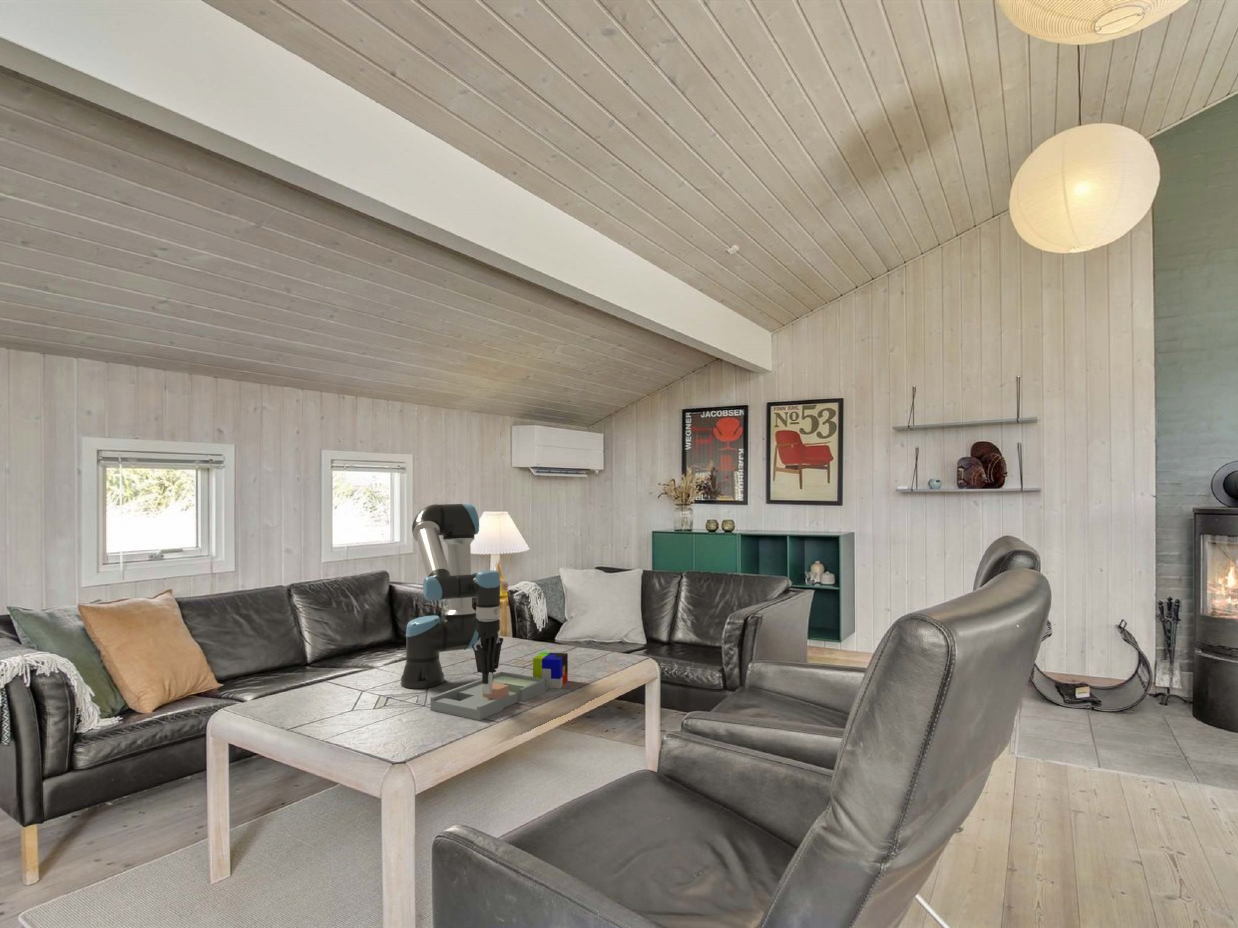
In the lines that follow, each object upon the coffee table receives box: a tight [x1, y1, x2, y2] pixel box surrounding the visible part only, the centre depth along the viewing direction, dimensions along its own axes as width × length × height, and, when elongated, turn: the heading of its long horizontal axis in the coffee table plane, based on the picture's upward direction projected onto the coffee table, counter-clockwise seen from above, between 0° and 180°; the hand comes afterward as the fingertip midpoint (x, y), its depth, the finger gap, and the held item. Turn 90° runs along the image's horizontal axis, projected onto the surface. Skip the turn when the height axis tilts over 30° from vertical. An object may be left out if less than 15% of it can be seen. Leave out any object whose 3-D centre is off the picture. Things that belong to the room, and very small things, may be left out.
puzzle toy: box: [532, 651, 569, 689], centre depth 251 cm, size 10×10×10 cm
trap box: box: [429, 671, 548, 721], centre depth 231 cm, size 20×35×4 cm, turn 150°
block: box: [482, 683, 509, 699], centre depth 226 cm, size 6×6×3 cm
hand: (487, 692), depth 223 cm, fingers closed
